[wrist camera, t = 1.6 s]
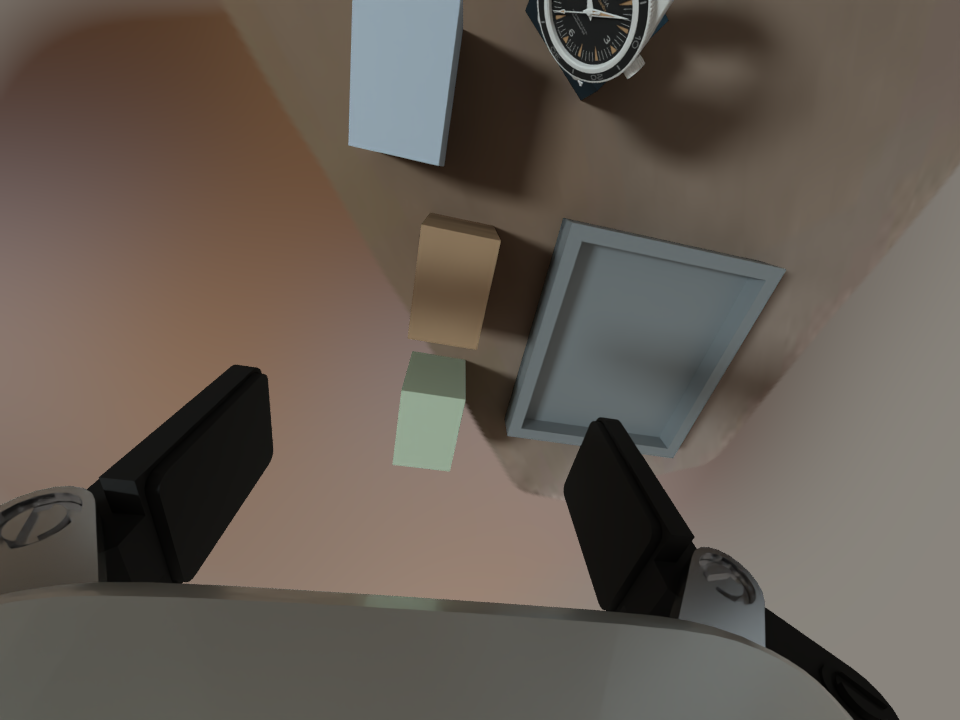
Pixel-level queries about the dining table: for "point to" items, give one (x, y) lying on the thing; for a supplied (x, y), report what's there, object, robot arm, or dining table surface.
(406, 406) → the sage brick
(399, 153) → the dusty blue brick
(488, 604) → the robot arm
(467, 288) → the walnut brick
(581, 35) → the watch
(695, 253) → the tray
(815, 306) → the dining table surface
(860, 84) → the dining table surface
